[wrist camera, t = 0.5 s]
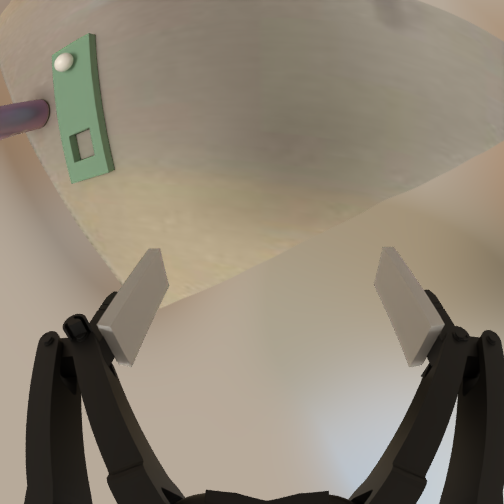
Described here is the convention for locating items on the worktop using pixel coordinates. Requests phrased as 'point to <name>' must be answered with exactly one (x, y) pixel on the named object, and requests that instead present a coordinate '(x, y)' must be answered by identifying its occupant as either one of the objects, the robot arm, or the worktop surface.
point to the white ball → (63, 62)
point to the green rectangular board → (81, 110)
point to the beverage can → (22, 117)
